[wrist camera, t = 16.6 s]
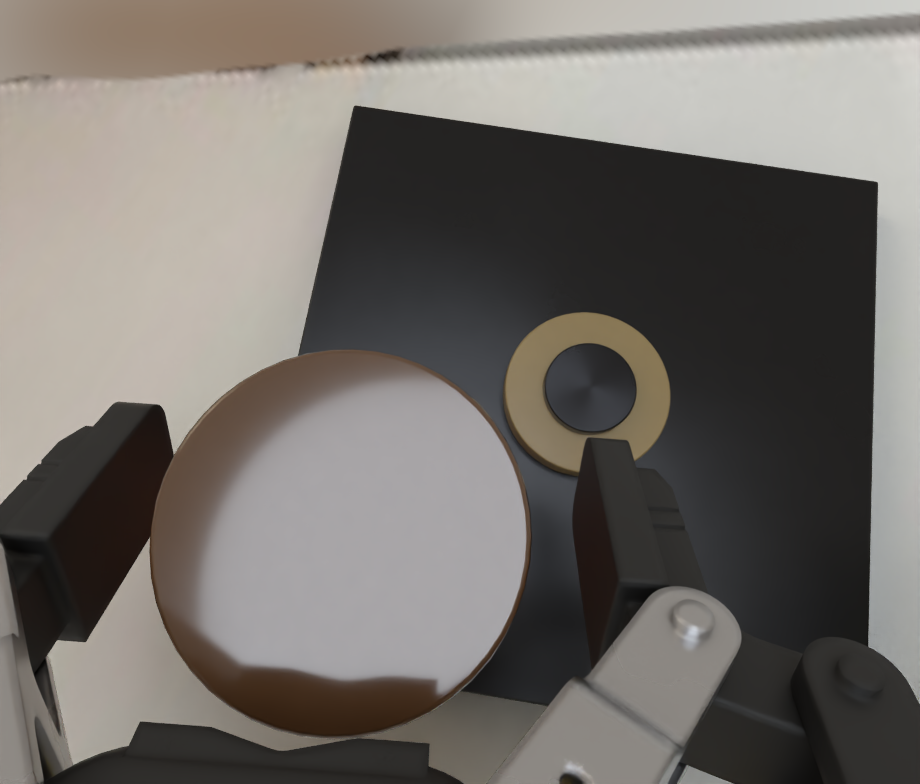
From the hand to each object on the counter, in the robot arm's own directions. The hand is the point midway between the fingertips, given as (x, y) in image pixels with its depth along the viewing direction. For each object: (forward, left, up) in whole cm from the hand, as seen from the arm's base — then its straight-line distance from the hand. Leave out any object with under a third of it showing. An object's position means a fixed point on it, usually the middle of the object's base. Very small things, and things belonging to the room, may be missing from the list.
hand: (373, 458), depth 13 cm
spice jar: (0, -1, -5) cm, 6 cm away
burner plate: (+5, +3, -7) cm, 9 cm away
